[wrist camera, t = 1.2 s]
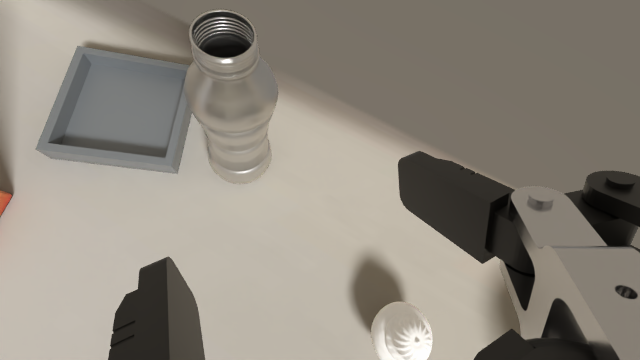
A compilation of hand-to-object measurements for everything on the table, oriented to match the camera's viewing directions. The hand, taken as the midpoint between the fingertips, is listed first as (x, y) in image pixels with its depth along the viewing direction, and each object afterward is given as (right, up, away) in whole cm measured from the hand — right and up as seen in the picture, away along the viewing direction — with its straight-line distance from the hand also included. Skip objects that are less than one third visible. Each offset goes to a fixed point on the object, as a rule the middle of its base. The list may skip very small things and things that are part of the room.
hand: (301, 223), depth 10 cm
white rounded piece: (+8, -15, +23) cm, 29 cm away
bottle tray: (-21, +9, +25) cm, 34 cm away
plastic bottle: (-9, +3, +26) cm, 27 cm away
